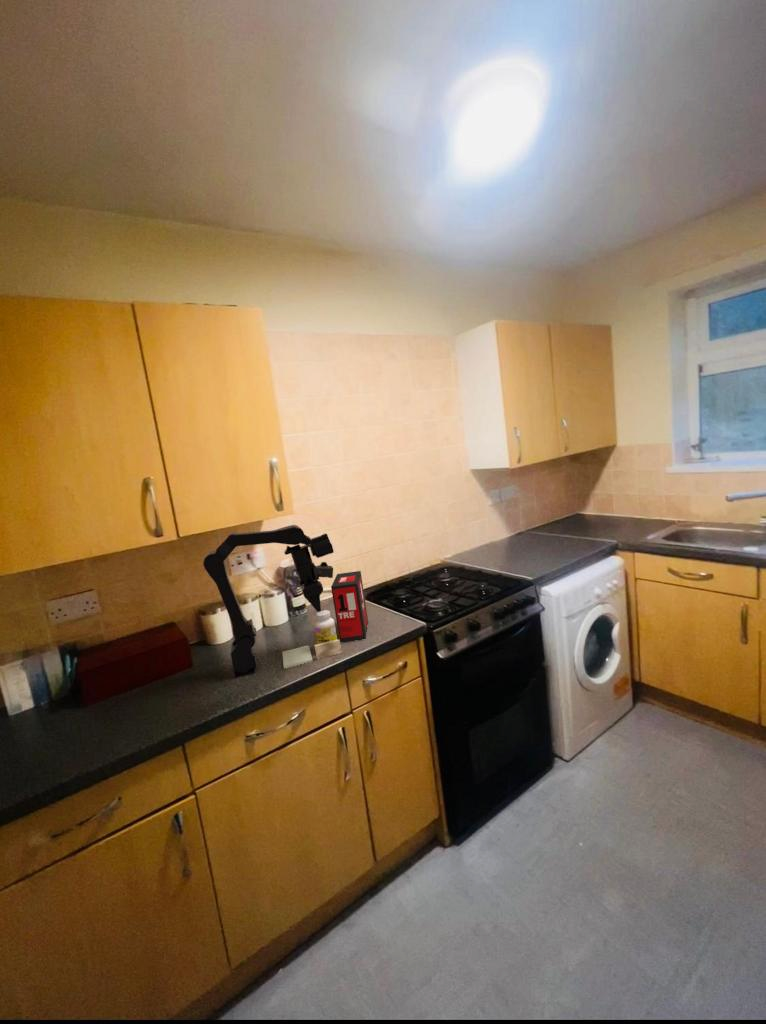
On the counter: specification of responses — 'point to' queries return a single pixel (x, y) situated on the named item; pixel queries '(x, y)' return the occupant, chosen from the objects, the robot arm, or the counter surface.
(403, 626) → the counter surface
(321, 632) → the supplement bottle
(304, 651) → the sage board
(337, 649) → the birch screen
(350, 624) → the cleaning product box
